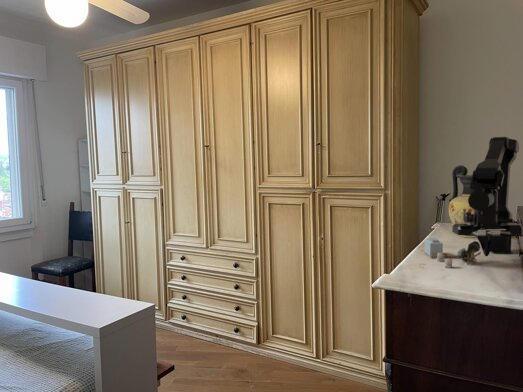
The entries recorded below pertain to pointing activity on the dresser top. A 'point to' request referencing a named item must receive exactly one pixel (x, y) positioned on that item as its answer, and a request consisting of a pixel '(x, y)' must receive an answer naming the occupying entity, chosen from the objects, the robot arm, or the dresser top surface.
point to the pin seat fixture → (447, 261)
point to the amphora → (461, 197)
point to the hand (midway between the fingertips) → (486, 256)
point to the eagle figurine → (470, 252)
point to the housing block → (433, 246)
